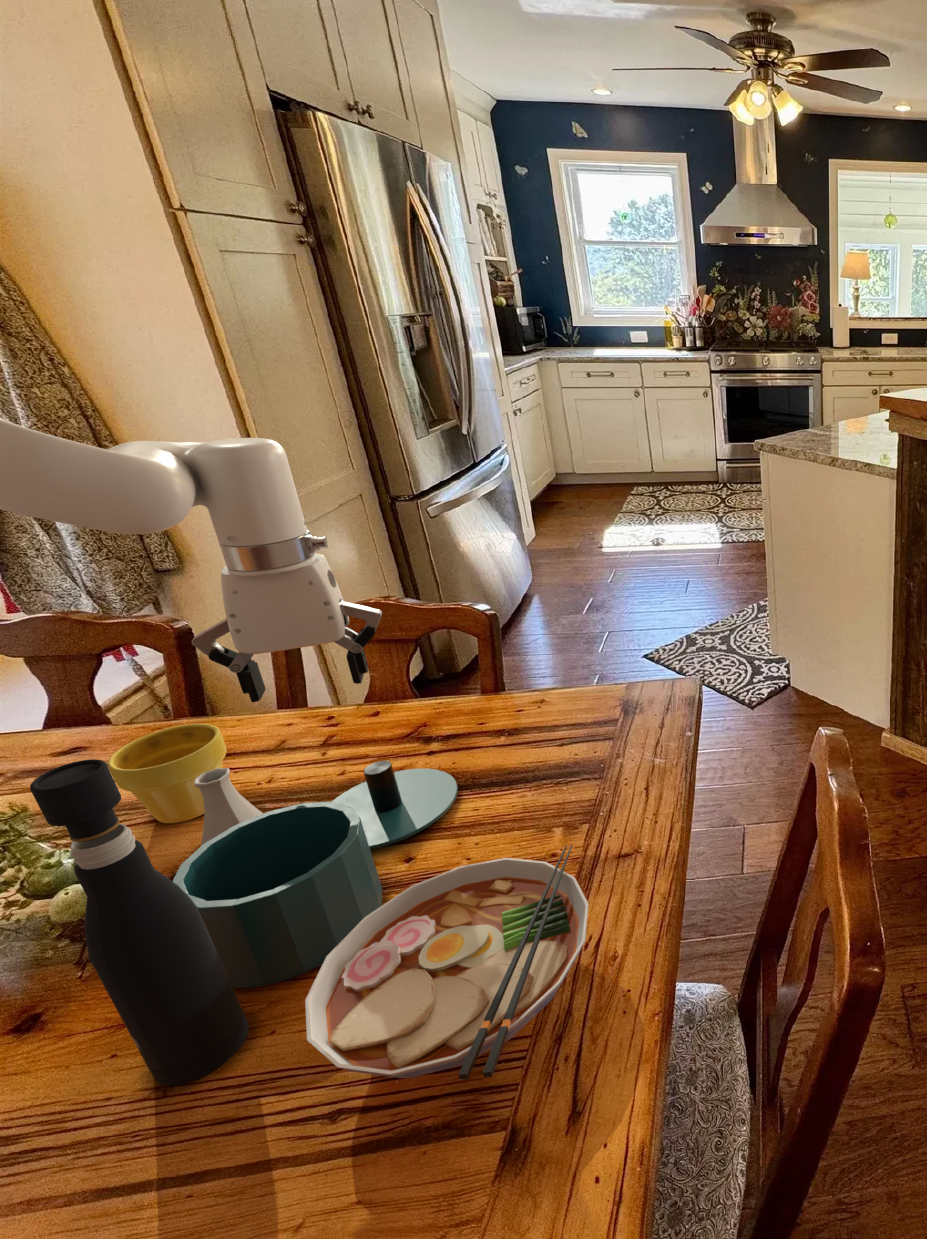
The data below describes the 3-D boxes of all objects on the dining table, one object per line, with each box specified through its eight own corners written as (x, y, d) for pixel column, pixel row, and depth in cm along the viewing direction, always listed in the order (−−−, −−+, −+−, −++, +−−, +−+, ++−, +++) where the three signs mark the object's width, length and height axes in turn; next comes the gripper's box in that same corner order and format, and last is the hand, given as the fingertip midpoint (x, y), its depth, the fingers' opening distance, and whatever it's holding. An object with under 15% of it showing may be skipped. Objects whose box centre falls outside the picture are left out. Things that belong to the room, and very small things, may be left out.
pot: (187, 1013, 66) (147, 930, 62) (229, 903, 78) (198, 828, 74) (375, 950, 72) (349, 872, 69) (387, 858, 84) (366, 787, 81)
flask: (215, 829, 88) (188, 764, 85) (285, 817, 91) (261, 752, 87) (186, 870, 82) (156, 801, 78) (262, 855, 84) (236, 787, 81)
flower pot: (223, 823, 89) (197, 759, 86) (118, 843, 86) (86, 777, 82) (255, 775, 98) (233, 716, 95) (161, 792, 95) (134, 731, 91)
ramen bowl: (415, 907, 78) (398, 849, 75) (625, 895, 80) (617, 838, 77) (250, 1162, 54) (215, 1094, 51) (552, 1135, 57) (536, 1068, 54)
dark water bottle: (267, 1015, 66) (153, 748, 55) (209, 1086, 60) (68, 802, 49) (197, 1016, 65) (68, 748, 54) (131, 1087, 59) (-28, 802, 48)
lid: (305, 872, 82) (287, 824, 79) (326, 795, 95) (311, 751, 92) (458, 829, 89) (447, 784, 87) (458, 762, 102) (449, 721, 99)
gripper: (367, 533, 84) (398, 659, 90) (177, 552, 76) (225, 689, 82) (359, 552, 78) (393, 686, 84) (151, 574, 70) (206, 720, 76)
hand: (310, 687), depth 83 cm, fingers open, 9 cm apart
